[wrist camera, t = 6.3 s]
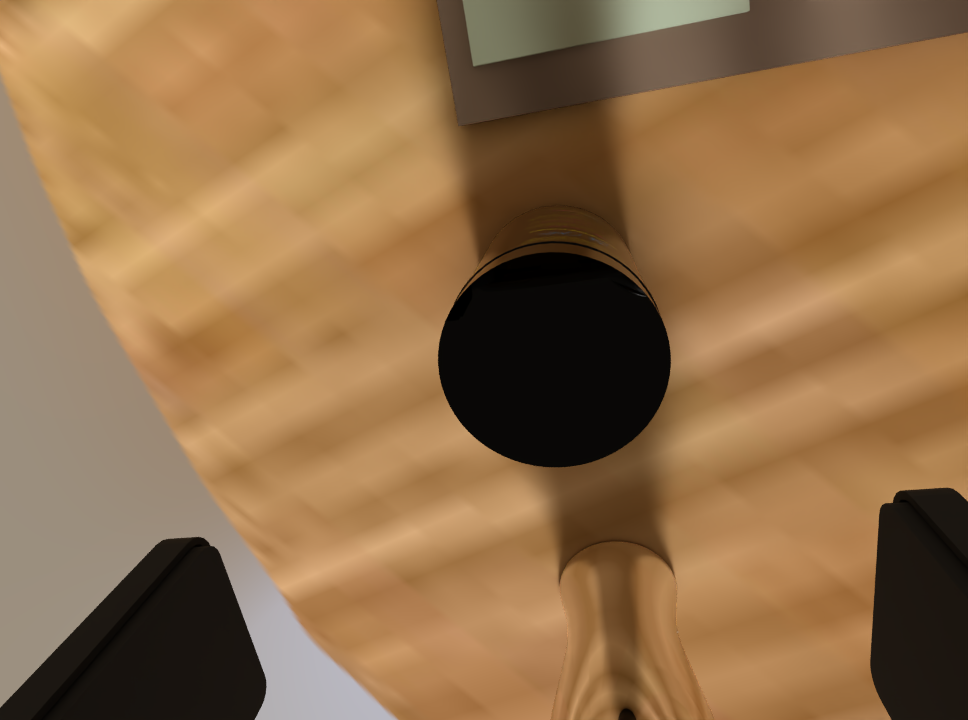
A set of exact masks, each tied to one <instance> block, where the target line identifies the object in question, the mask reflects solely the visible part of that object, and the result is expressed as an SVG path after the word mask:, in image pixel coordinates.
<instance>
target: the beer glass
mask: <svg viewBox="0 0 968 720" xmlns="http://www.w3.org/2000/svg"><path fill="white" fill-rule="evenodd" d="M560 596H561V601H562V605H563V609H564V613H565V617H566V622H567V645H566V651H565V656H564V661H563V665H562V670H561V674H560V678H559V682H558V687H557V691H556V696H555V700H554V705H553V709H552V714H551V720H715V719H714V716H713V714H712V711H711V709H710V707H709V704H708V702H707V700H706V698H705V695H704V693H703V691H702V689H701V686H700V684H699V682H698V680H697V677H696V675H695V673H694V671H693V669H692V667H691V664H690V662H689V660H688V658H687V655H686V653H685V651H684V648H683V646H682V644H681V640H680V637H679V633H678V629H677V621H676V611H677V586H676V581H675V577H674V575H673V573H672V571H671V569H670V568H669V566H668V565H667V563H666V562H665V561H664V560H663V559H662V558H661V557H660V556H658V555H657V554H656V553H654V552H653V551H651V550H649V549H647V548H645V547H643V546H640V545H637V544H634V543H629V542H621V541H611V542H603V543H599V544H595V545H592V546H590V547H587V548H585V549H583V550H582V551H580V552H579V553H577V554H576V555H575V556H574V557H573V558H572V559H571V560H570V561H569V562H568V563H567V565H566V566H565V568H564V570H563V572H562V575H561V578H560Z"/></svg>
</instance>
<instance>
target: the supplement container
mask: <svg viewBox="0 0 968 720" xmlns="http://www.w3.org/2000/svg"><path fill="white" fill-rule="evenodd" d="M438 366H439V375H440V380H441V384H442V388H443V391H444V394H445V396H446V399H447V401H448V403H449V405H450V407H451V409H452V410H453V412H454V414H455V415H456V417H457V418H458V420H459V421H460V422H461V424H462V425H463V426H464V427H465V428H466V429H467V430H468V432H470V433H471V434H472V435H473V436H474V437H475V438H476V439H477V440H478V441H480V442H481V443H482V444H484V445H485V446H487V447H488V448H490V449H491V450H493V451H495V452H497V453H499V454H501V455H502V456H505V457H507V458H510V459H512V460H515V461H518V462H521V463H525V464H529V465H534V466H542V467H570V466H576V465H582V464H586V463H590V462H593V461H596V460H599V459H601V458H604V457H606V456H608V455H610V454H612V453H614V452H616V451H617V450H619V449H621V448H622V447H624V446H625V445H627V444H628V443H629V442H631V441H632V440H633V439H634V438H635V437H636V436H638V435H639V434H640V433H641V432H642V430H643V429H644V428H645V427H646V426H647V425H648V424H649V422H650V421H651V420H652V418H653V417H654V415H655V414H656V412H657V410H658V408H659V407H660V404H661V402H662V400H663V398H664V395H665V392H666V389H667V386H668V381H669V376H670V366H671V355H670V346H669V340H668V336H667V332H666V329H665V326H664V323H663V321H662V318H661V316H660V313H659V310H658V308H657V305H656V303H655V301H654V299H653V297H652V295H651V293H650V292H649V290H648V289H647V287H646V286H645V284H644V282H643V280H642V278H641V276H640V273H639V271H638V269H637V267H636V265H635V263H634V260H633V258H632V256H631V254H630V252H629V250H628V248H627V246H626V244H625V242H624V240H623V239H622V237H621V236H620V235H619V234H618V232H617V231H616V230H615V229H614V228H613V227H612V226H611V225H610V224H609V223H607V222H606V221H605V220H603V219H602V218H600V217H599V216H597V215H595V214H593V213H591V212H589V211H586V210H583V209H580V208H576V207H571V206H546V207H541V208H537V209H534V210H531V211H529V212H526V213H524V214H522V215H520V216H518V217H517V218H515V219H514V220H512V221H511V222H510V223H508V224H507V225H506V226H505V227H504V228H503V229H502V230H501V231H500V232H499V233H498V235H497V236H496V237H495V238H494V240H493V241H492V243H491V245H490V246H489V248H488V250H487V251H486V253H485V255H484V257H483V258H482V260H481V262H480V263H479V265H478V267H477V268H476V270H475V272H474V274H473V275H472V277H471V278H470V279H469V280H468V282H467V283H466V284H465V285H464V287H463V289H462V290H461V292H460V293H459V295H458V297H457V299H456V301H455V303H454V305H453V307H452V309H451V311H450V313H449V315H448V317H447V319H446V321H445V324H444V327H443V330H442V333H441V338H440V342H439V351H438Z"/></svg>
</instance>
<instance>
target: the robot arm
mask: <svg viewBox="0 0 968 720" xmlns="http://www.w3.org/2000/svg"><path fill="white" fill-rule="evenodd" d="M870 666H871V674H872V678H873V682H874V685H875V688H876V691H877V693H878V695H879V697H880V699H881V701H882V703H883V705H884V706H885V708H886V710H887V712H888V714H889V716H890V718H891V719H892V720H968V501H967V500H966V499H965V498H964V497H962V496H961V495H960V494H959V493H958V492H957V491H955V490H954V489H951V488H935V489H920V490H905V491H899V492H897V493H896V495H895V497H894V500H893V503H885V504H883V505H882V507H881V508H880V514H879V528H878V545H877V561H876V578H875V594H874V610H873V627H872V643H871V660H870ZM265 694H266V678H265V674H264V672H263V669H262V667H261V664H260V661H259V659H258V656H257V653H256V650H255V648H254V645H253V642H252V639H251V637H250V634H249V631H248V629H247V626H246V623H245V620H244V618H243V615H242V613H241V610H240V607H239V604H238V602H237V599H236V596H235V594H234V591H233V588H232V585H231V583H230V580H229V577H228V574H227V572H226V569H225V566H224V564H223V561H222V558H221V556H220V553H219V551H218V550H217V549H216V548H215V547H213V546H210V545H209V542H207V541H206V540H205V539H204V538H201V537H192V538H176V539H166V540H163V541H161V542H160V543H158V544H157V545H156V546H155V547H154V548H153V549H152V550H151V551H150V552H149V553H148V554H147V555H146V556H145V557H144V558H143V559H142V561H140V563H139V564H138V565H137V566H136V567H135V568H134V569H133V570H132V571H131V572H130V573H129V574H128V575H127V576H126V577H125V578H124V579H123V580H122V581H121V582H120V583H119V584H118V586H117V587H116V588H115V589H114V590H113V591H112V592H111V593H110V594H109V595H108V596H107V597H106V598H105V599H104V600H103V601H102V602H101V603H100V604H99V605H98V606H97V608H96V609H94V611H93V612H92V613H91V614H90V615H89V616H88V617H87V618H86V619H85V620H84V621H83V622H82V623H81V624H80V625H79V626H78V627H77V628H76V629H75V630H74V632H73V633H72V634H70V636H69V637H68V638H67V639H66V640H65V641H64V642H63V643H62V644H61V645H60V646H59V647H58V648H57V649H56V650H55V651H54V652H53V653H52V654H51V656H50V657H48V658H47V660H46V661H45V662H44V663H43V664H42V665H41V666H40V667H39V668H38V669H37V670H36V671H35V672H34V673H33V674H32V675H31V676H30V677H29V678H28V679H27V681H26V682H25V683H24V684H23V685H22V686H21V687H20V688H19V689H18V690H17V691H16V692H15V693H14V694H13V695H12V696H11V697H10V698H9V699H8V700H7V701H6V702H5V703H4V704H3V706H2V707H1V708H0V720H255V718H256V716H257V714H258V712H259V710H260V708H261V706H262V704H263V701H264V698H265Z"/></svg>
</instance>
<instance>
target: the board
mask: <svg viewBox="0 0 968 720" xmlns="http://www.w3.org/2000/svg"><path fill="white" fill-rule="evenodd" d="M437 5H438V11H439V16H440V22H441V28H442V34H443V39H444V45H445V51H446V57H447V63H448V68H449V74H450V80H451V86H452V91H453V97H454V103H455V109H456V114H457V120H458V126H463V125H469V124H474V123H479V122H485V121H490V120H496V119H501V118H506V117H512V116H517V115H523V114H528V113H534V112H539V111H544V110H550V109H555V108H561V107H566V106H571V105H577V104H582V103H588V102H593V101H598V100H604V99H609V98H615V97H620V96H626V95H631V94H636V93H642V92H647V91H653V90H658V89H663V88H669V87H674V86H680V85H685V84H690V83H696V82H701V81H707V80H712V79H718V78H723V77H728V76H734V75H739V74H745V73H750V72H755V71H761V70H766V69H772V68H777V67H782V66H788V65H793V64H799V63H804V62H809V61H815V60H820V59H826V58H831V57H837V56H842V55H847V54H853V53H858V52H864V51H869V50H874V49H880V48H885V47H891V46H896V45H901V44H907V43H912V42H918V41H923V40H929V39H934V38H939V37H945V36H950V35H956V34H961V33H966V32H968V0H437Z"/></svg>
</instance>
